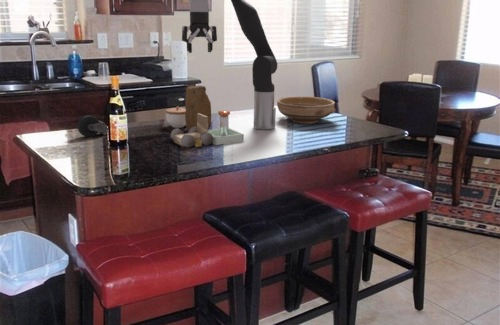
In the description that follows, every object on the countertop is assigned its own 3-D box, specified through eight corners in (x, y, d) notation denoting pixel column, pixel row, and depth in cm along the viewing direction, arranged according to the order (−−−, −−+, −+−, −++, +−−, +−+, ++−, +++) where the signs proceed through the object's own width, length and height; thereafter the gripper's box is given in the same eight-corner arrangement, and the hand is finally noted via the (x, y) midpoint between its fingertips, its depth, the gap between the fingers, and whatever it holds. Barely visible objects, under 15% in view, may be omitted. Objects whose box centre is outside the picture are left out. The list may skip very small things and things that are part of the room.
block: (190, 133, 224) (189, 87, 218) (184, 129, 230) (183, 85, 225) (212, 131, 229) (212, 86, 223) (206, 127, 235) (206, 84, 229)
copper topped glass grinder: (226, 135, 218) (226, 110, 215) (232, 137, 214) (232, 112, 211) (216, 136, 216) (216, 111, 213) (222, 139, 212) (221, 113, 209)
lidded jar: (191, 124, 242) (190, 104, 239) (187, 129, 232) (187, 108, 229) (168, 123, 242) (168, 104, 240) (164, 128, 232) (163, 108, 229)
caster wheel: (83, 141, 211) (116, 133, 220) (79, 119, 208) (112, 111, 217) (77, 138, 215) (110, 130, 224) (73, 117, 212) (106, 109, 221)
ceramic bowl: (352, 124, 247) (354, 104, 244) (308, 131, 231) (309, 109, 228) (302, 112, 275) (302, 93, 273) (260, 117, 259) (260, 98, 256)
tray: (228, 134, 222) (228, 127, 221) (243, 141, 211) (243, 134, 210) (201, 138, 216) (201, 131, 215) (215, 144, 205) (215, 137, 204)
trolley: (199, 137, 217) (198, 112, 213) (213, 144, 205) (213, 117, 202) (170, 140, 210) (170, 114, 207) (183, 148, 199) (183, 120, 196)
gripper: (211, 11, 208) (212, 51, 213) (179, 10, 202) (180, 52, 206) (219, 11, 202) (219, 52, 206) (185, 10, 195) (186, 53, 200)
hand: (199, 52), depth 206 cm, fingers open, 8 cm apart
